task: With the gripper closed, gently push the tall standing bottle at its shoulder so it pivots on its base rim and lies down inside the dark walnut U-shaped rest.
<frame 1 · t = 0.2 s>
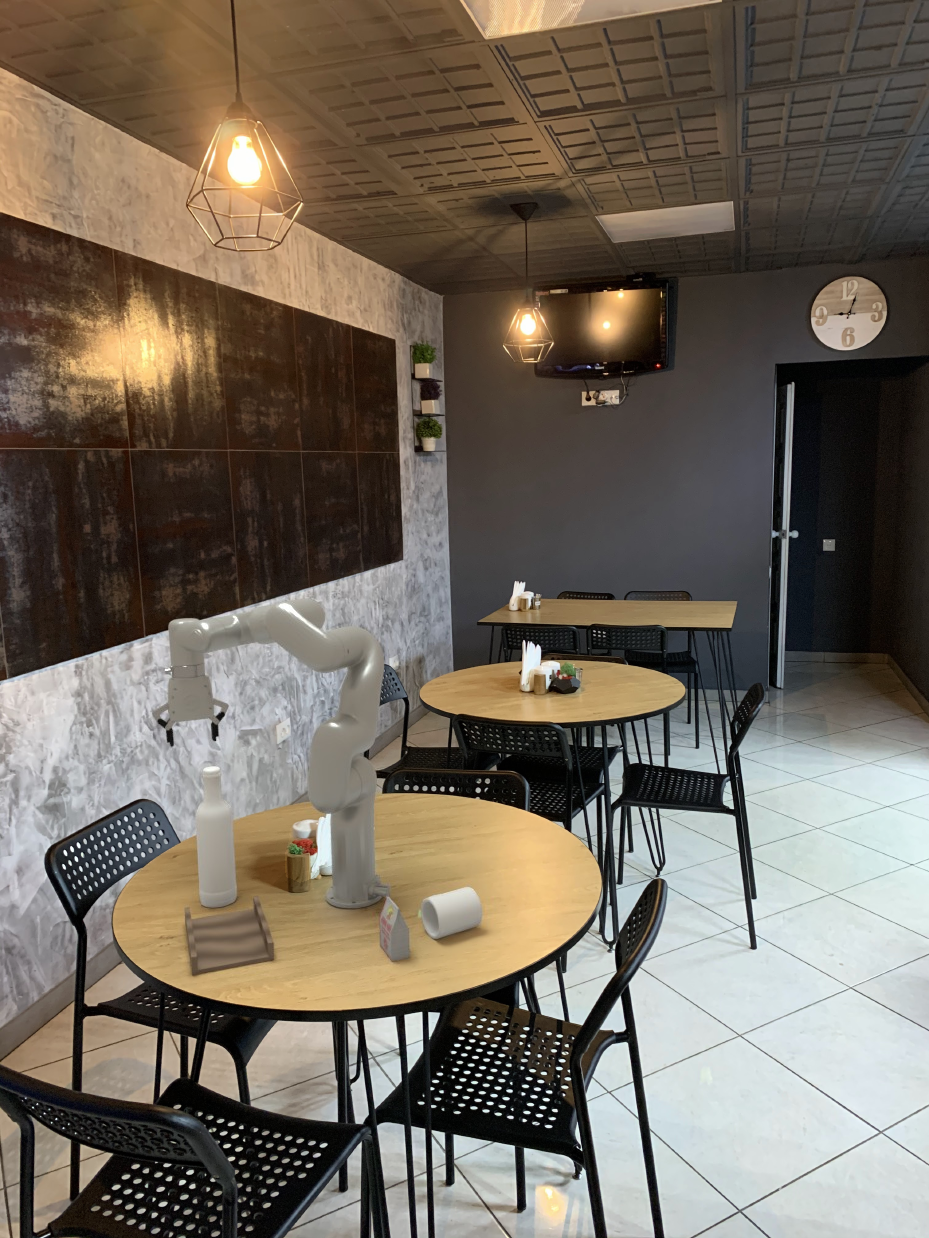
hand: (193, 742, 208), 31 cm above the table, tool pointing down, fingers open, 9 cm apart
grey gabled box: (394, 952, 170), on the table
mug: (446, 928, 180), on the table
bottle: (218, 901, 194), on the table
u rest: (227, 940, 176), on the table
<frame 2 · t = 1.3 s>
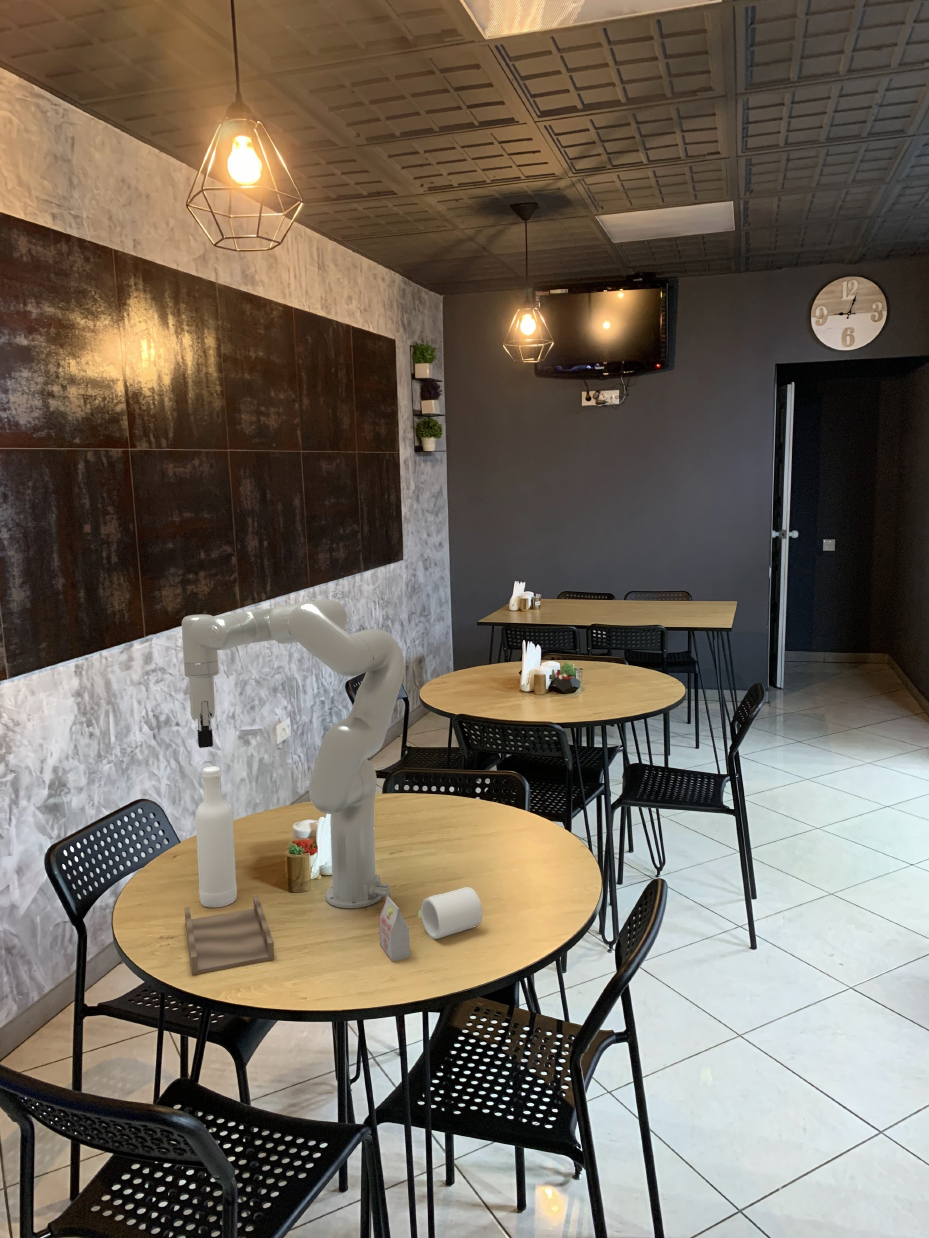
hand: (205, 746, 204), 31 cm above the table, tool pointing down, fingers closed
nothing on the table moved.
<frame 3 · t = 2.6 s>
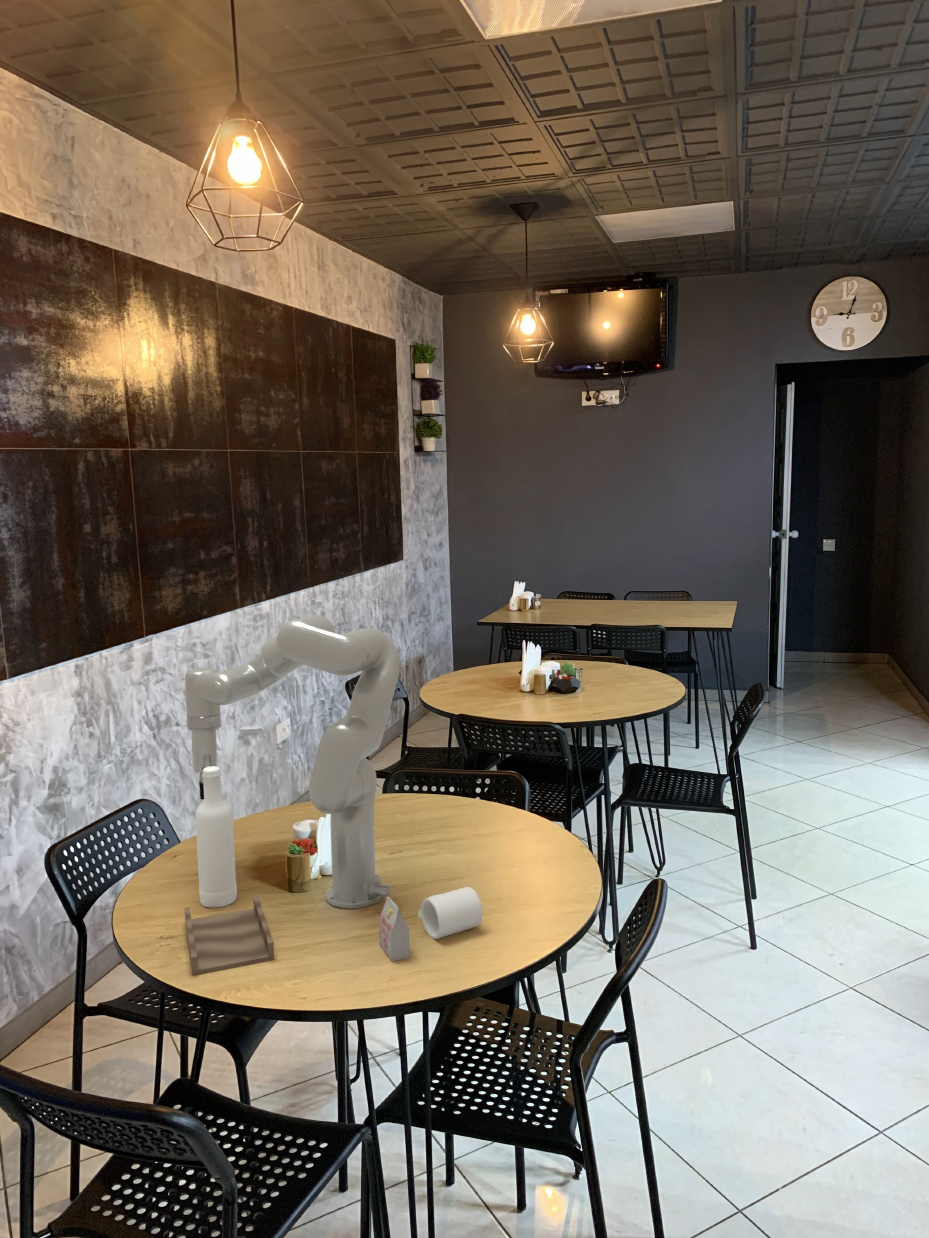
hand: (207, 797, 206), 19 cm above the table, tool pointing down, fingers closed
nothing on the table moved.
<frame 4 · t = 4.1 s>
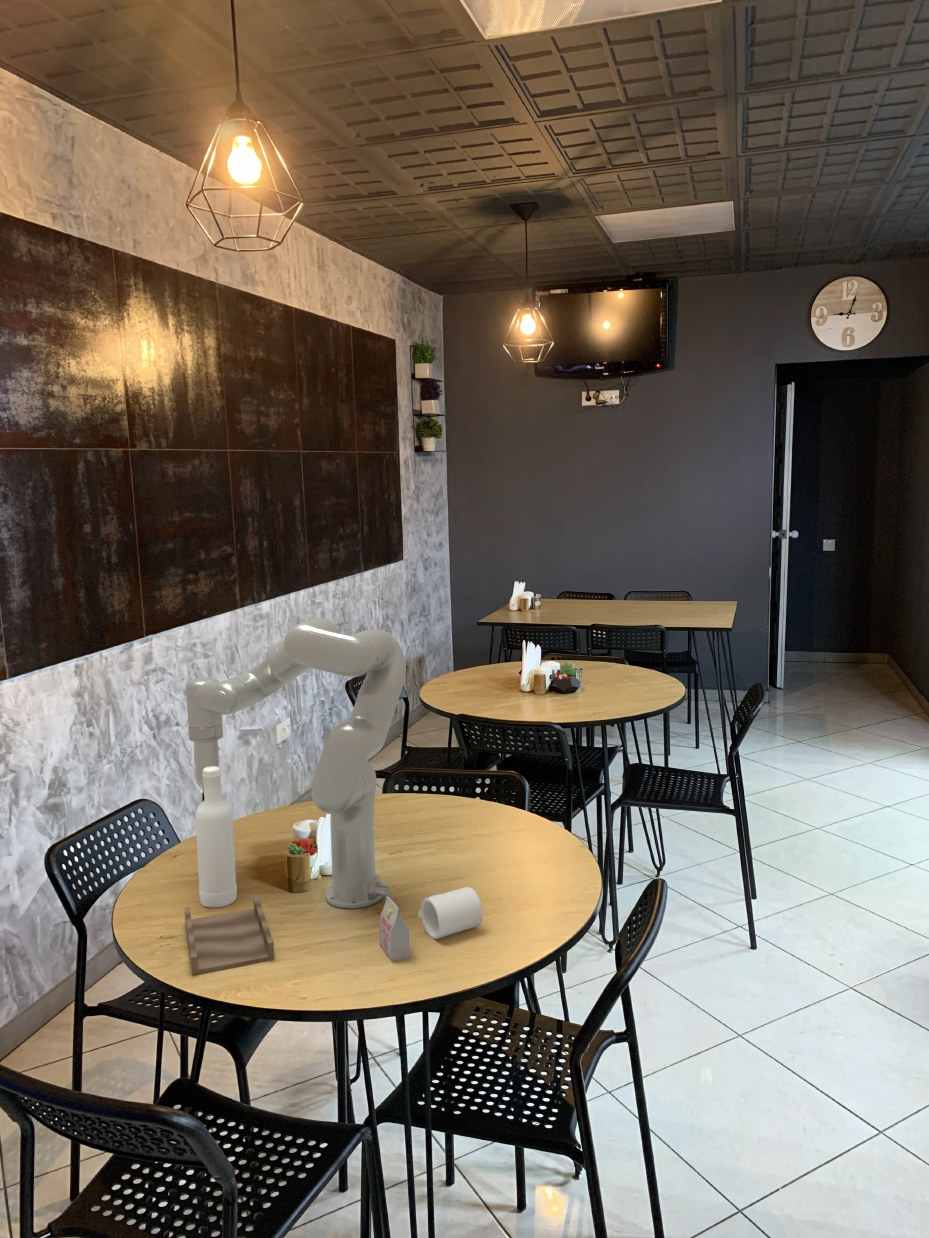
hand: (210, 809, 203), 17 cm above the table, tool pointing down, fingers closed
nothing on the table moved.
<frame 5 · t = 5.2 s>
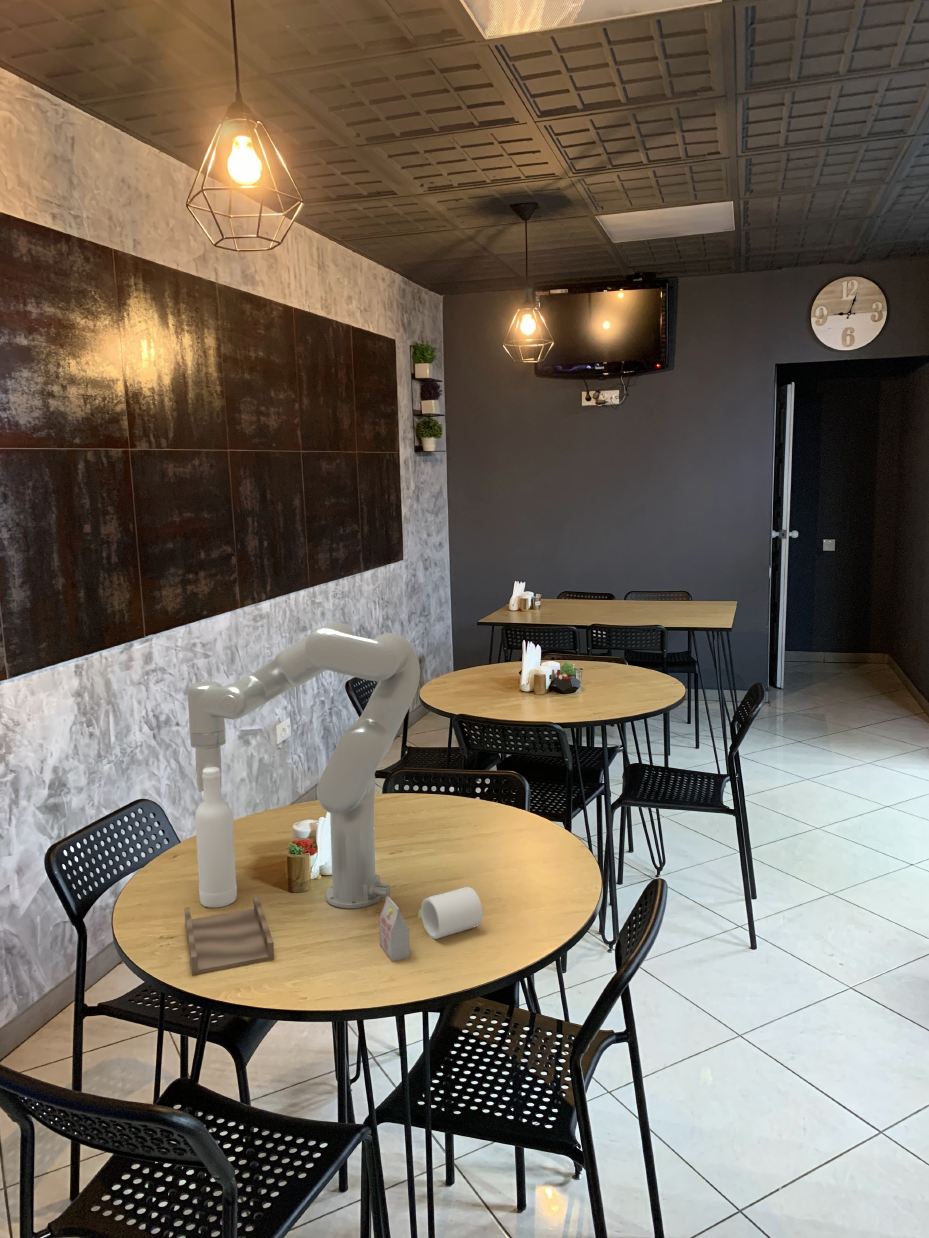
hand: (212, 817, 197), 17 cm above the table, tool pointing down, fingers closed
bottle: (218, 900, 194), on the table, touching gripper
everything else where it was.
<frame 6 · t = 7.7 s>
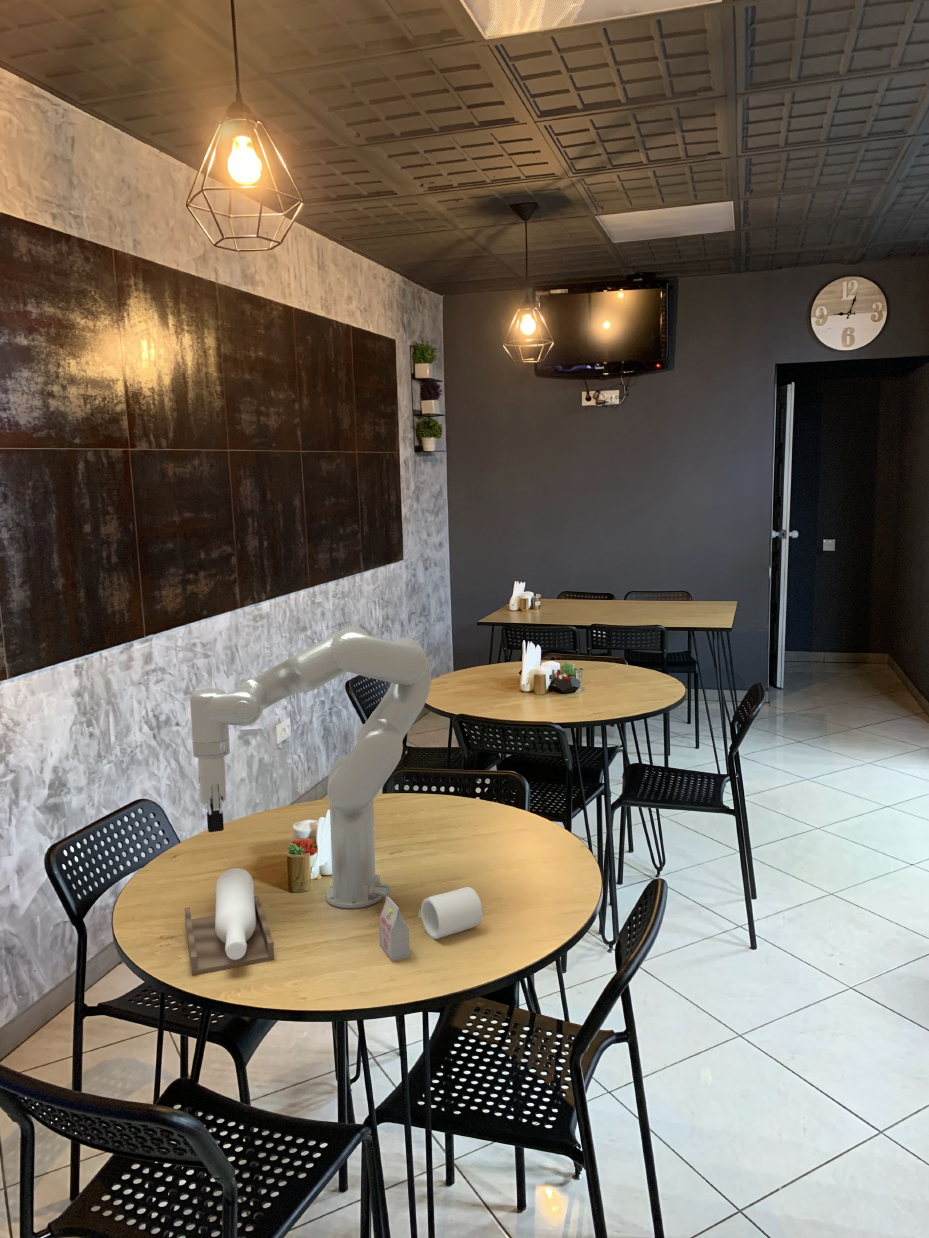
hand: (215, 830, 189), 17 cm above the table, tool pointing down, fingers closed
bottle: (234, 884, 191), point 5 cm above the table, touching u rest
everything else where it was.
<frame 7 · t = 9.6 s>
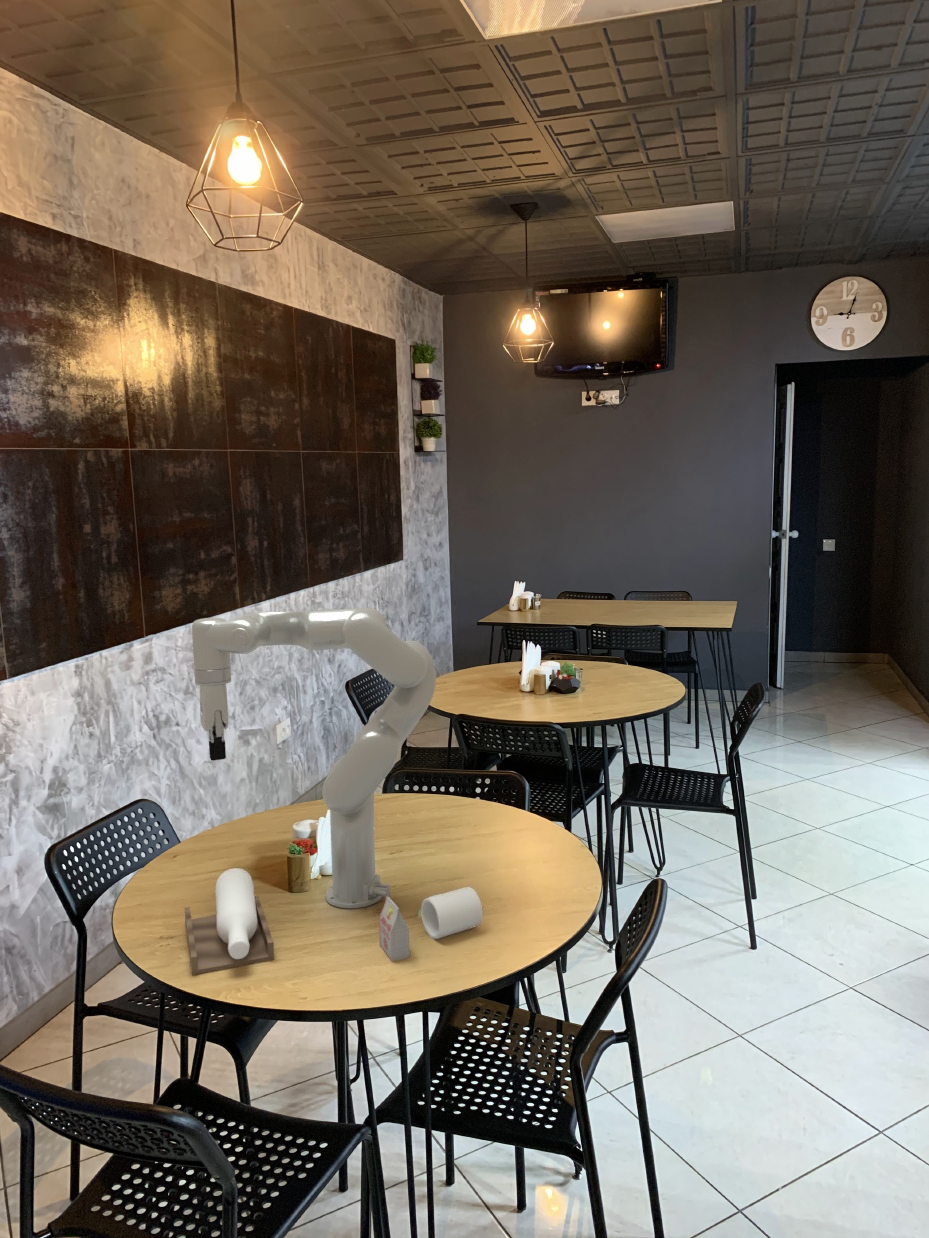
hand: (217, 758, 191), 32 cm above the table, tool pointing down, fingers closed
nothing on the table moved.
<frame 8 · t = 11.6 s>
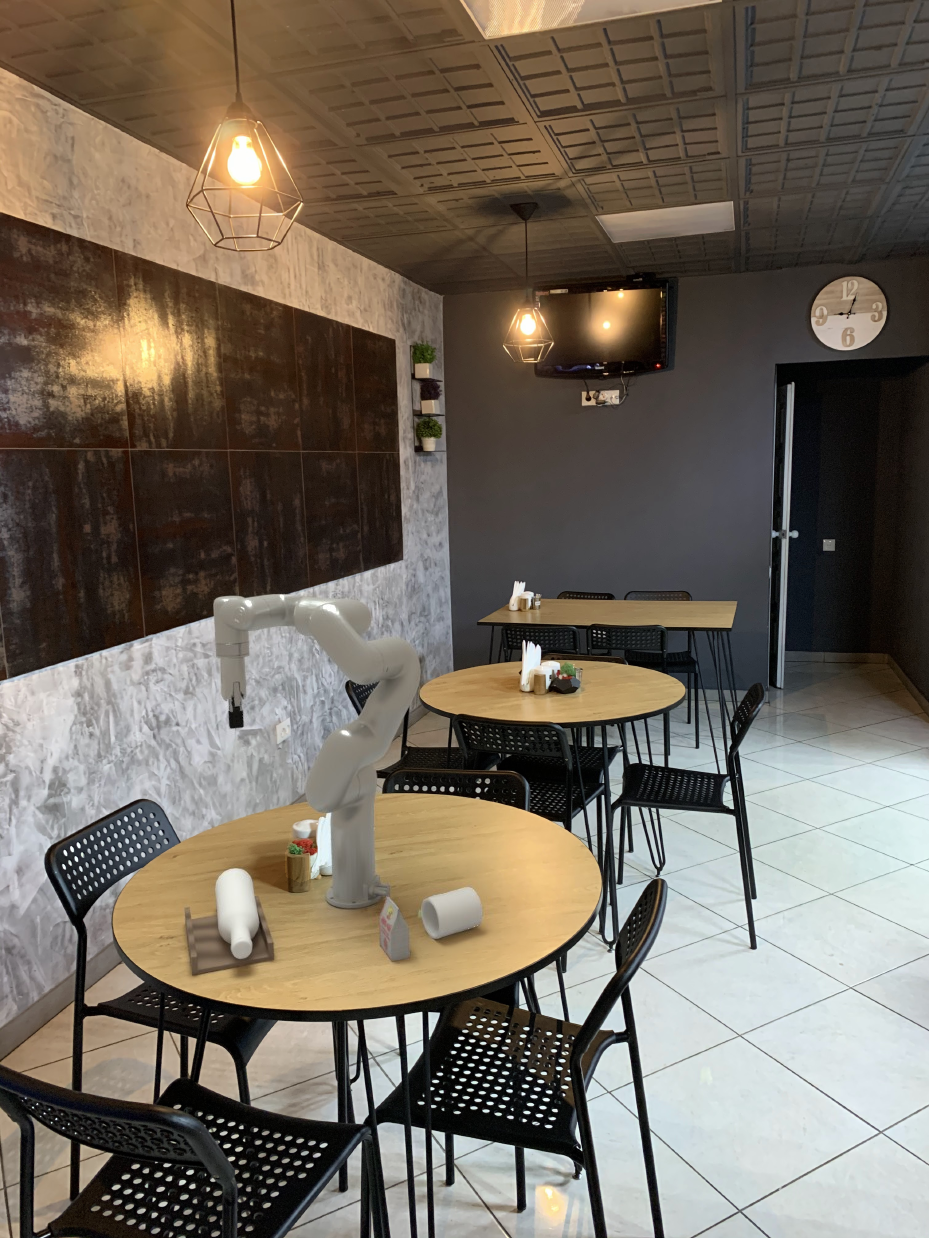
hand: (236, 727, 205), 35 cm above the table, tool pointing down, fingers closed
nothing on the table moved.
at the end: bottle tilted 90°; bottle touching u rest; bottle inside the target area on the table beside the u rest (3.1 cm from its centre), point 4.6 cm above the table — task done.
